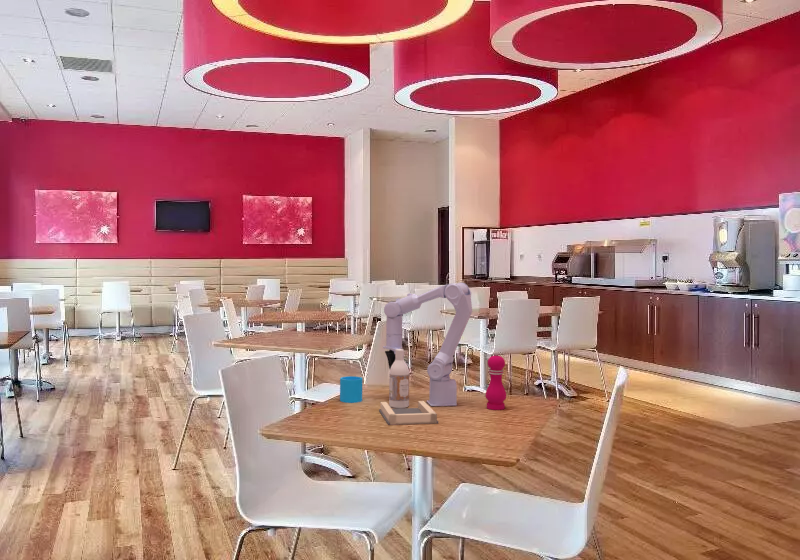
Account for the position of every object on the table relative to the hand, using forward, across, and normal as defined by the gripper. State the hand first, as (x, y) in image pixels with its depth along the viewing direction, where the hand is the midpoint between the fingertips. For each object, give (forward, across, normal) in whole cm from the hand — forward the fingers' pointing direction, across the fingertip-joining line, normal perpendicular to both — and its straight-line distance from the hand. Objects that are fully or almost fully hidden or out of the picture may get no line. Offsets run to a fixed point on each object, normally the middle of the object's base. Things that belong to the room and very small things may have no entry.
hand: (393, 371), depth 251 cm
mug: (+11, -2, -15) cm, 19 cm away
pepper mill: (+11, +19, +33) cm, 40 cm away
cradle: (+10, +28, 0) cm, 30 cm away
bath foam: (+11, +12, 0) cm, 16 cm away
